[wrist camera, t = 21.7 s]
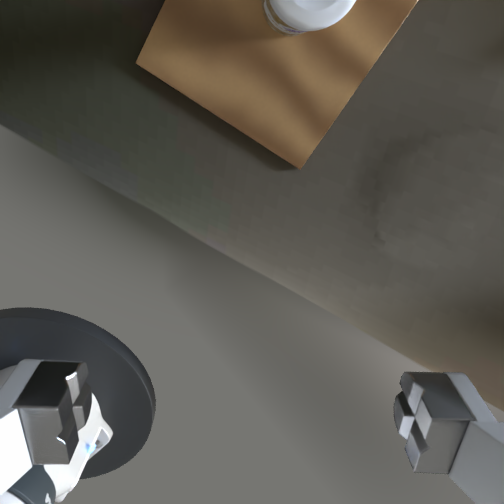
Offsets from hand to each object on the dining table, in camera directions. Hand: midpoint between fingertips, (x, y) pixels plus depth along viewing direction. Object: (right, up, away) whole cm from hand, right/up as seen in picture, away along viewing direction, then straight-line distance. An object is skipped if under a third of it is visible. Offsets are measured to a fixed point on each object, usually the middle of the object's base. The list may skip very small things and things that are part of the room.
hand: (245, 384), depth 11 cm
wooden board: (+3, +22, +21) cm, 31 cm away
